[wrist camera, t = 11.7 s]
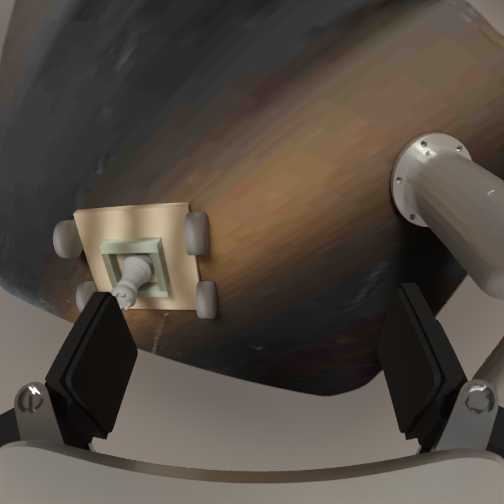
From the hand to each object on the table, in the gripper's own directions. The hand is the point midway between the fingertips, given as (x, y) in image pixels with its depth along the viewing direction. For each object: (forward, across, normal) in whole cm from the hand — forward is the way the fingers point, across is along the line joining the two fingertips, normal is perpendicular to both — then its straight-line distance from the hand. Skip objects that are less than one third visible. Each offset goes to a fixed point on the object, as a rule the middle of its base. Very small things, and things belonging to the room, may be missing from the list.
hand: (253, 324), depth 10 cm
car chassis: (+27, +17, +15) cm, 35 cm away
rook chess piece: (+26, +17, +15) cm, 35 cm away
